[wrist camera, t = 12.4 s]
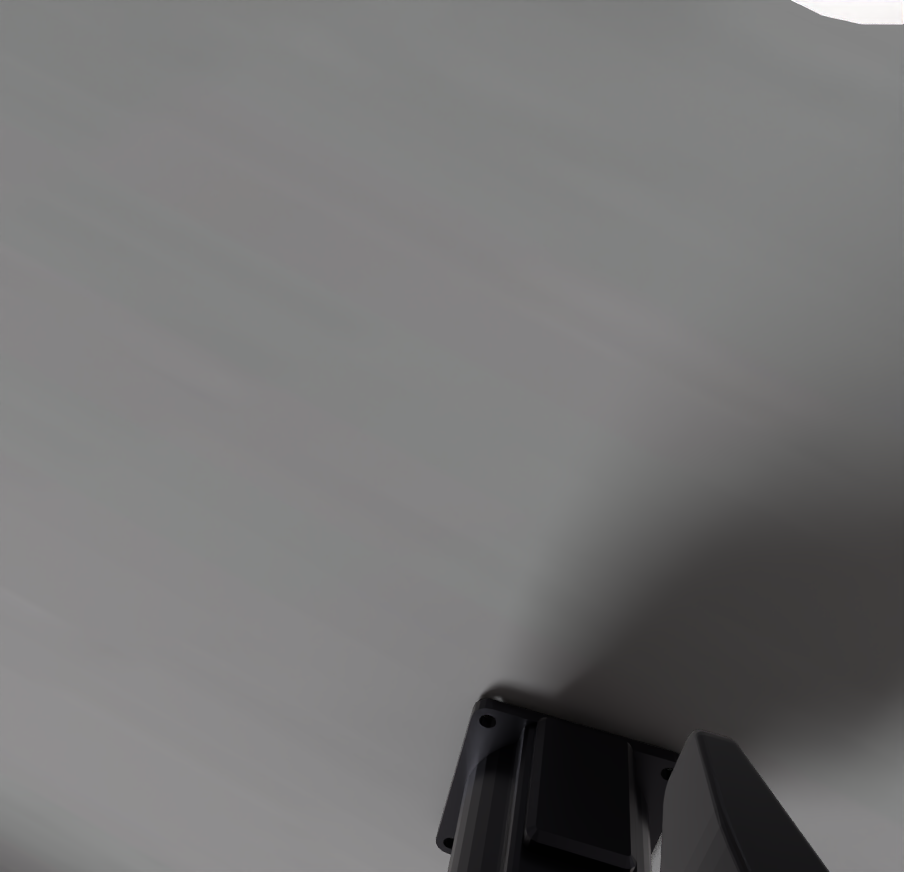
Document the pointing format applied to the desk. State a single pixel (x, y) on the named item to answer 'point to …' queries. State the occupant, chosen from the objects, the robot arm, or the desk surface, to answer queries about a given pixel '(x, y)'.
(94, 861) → the desk surface
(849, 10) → the hook
